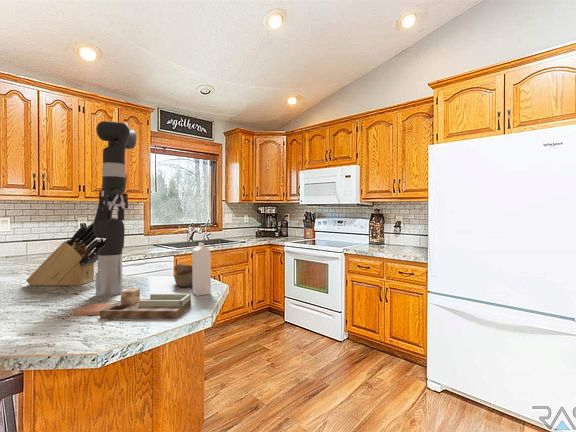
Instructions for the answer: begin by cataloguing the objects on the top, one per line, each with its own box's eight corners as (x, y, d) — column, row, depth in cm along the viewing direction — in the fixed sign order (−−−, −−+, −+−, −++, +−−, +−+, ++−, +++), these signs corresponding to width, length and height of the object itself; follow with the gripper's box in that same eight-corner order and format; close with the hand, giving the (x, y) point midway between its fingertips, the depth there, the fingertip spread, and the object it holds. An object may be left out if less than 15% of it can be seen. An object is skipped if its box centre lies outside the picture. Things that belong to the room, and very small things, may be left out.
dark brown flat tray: (100, 318, 102) (99, 310, 102) (123, 305, 116) (123, 299, 116) (176, 318, 101) (176, 311, 101) (190, 305, 115) (190, 299, 115)
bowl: (160, 286, 146) (160, 265, 146) (184, 281, 158) (184, 261, 158) (187, 291, 137) (187, 268, 137) (210, 285, 149) (209, 264, 149)
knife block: (98, 286, 147) (98, 221, 147) (25, 286, 148) (24, 222, 147) (112, 281, 159) (111, 221, 158) (44, 281, 159) (43, 221, 159)
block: (120, 304, 109) (120, 291, 109) (127, 300, 114) (127, 288, 114) (133, 304, 109) (133, 291, 109) (139, 300, 114) (139, 288, 114)
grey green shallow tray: (138, 306, 106) (138, 300, 106) (151, 299, 116) (151, 293, 116) (181, 306, 106) (181, 300, 106) (190, 299, 115) (190, 293, 115)
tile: (73, 314, 106) (73, 311, 106) (90, 306, 115) (90, 303, 115) (99, 314, 105) (99, 311, 105) (114, 306, 114) (114, 303, 114)
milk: (197, 296, 129) (196, 243, 129) (192, 293, 134) (191, 242, 134) (211, 293, 133) (210, 242, 132) (205, 290, 138) (205, 241, 137)
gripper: (112, 173, 106) (113, 220, 106) (134, 178, 121) (134, 220, 121) (91, 174, 106) (91, 221, 107) (115, 178, 121) (115, 220, 121)
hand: (114, 220), depth 114 cm, fingers open, 8 cm apart
